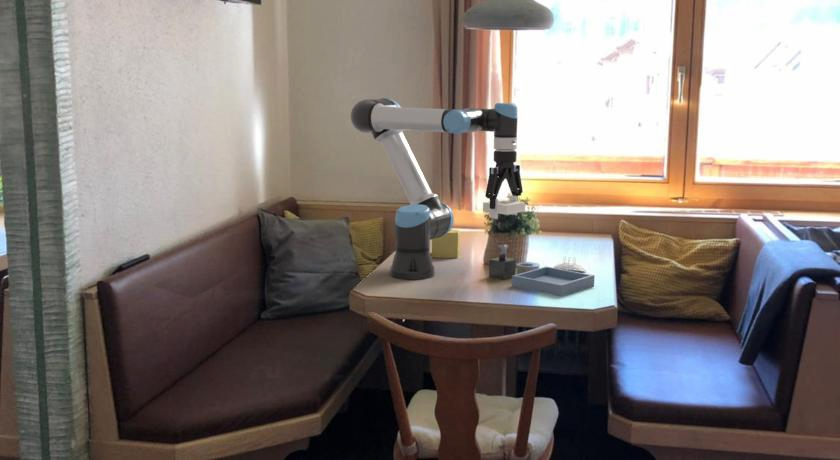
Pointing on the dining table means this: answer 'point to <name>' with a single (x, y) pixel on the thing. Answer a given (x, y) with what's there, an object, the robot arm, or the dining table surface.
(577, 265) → the pincushion
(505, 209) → the ring
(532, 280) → the tray
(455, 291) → the dining table surface
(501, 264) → the grey block with post
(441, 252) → the cheese
